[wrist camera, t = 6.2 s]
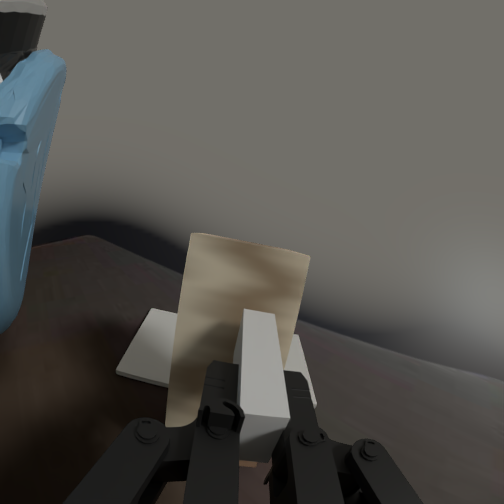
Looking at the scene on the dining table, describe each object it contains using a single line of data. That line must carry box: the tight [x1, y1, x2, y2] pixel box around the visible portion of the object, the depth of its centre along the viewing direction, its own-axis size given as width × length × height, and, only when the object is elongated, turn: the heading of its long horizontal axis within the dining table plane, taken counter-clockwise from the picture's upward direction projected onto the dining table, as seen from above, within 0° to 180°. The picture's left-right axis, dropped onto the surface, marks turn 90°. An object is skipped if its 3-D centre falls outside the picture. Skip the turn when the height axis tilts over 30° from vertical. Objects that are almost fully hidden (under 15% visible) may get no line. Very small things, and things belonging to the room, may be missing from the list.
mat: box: [116, 308, 317, 408], centre depth 29 cm, size 18×12×1 cm, turn 91°
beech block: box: [165, 233, 310, 467], centre depth 18 cm, size 6×6×14 cm
